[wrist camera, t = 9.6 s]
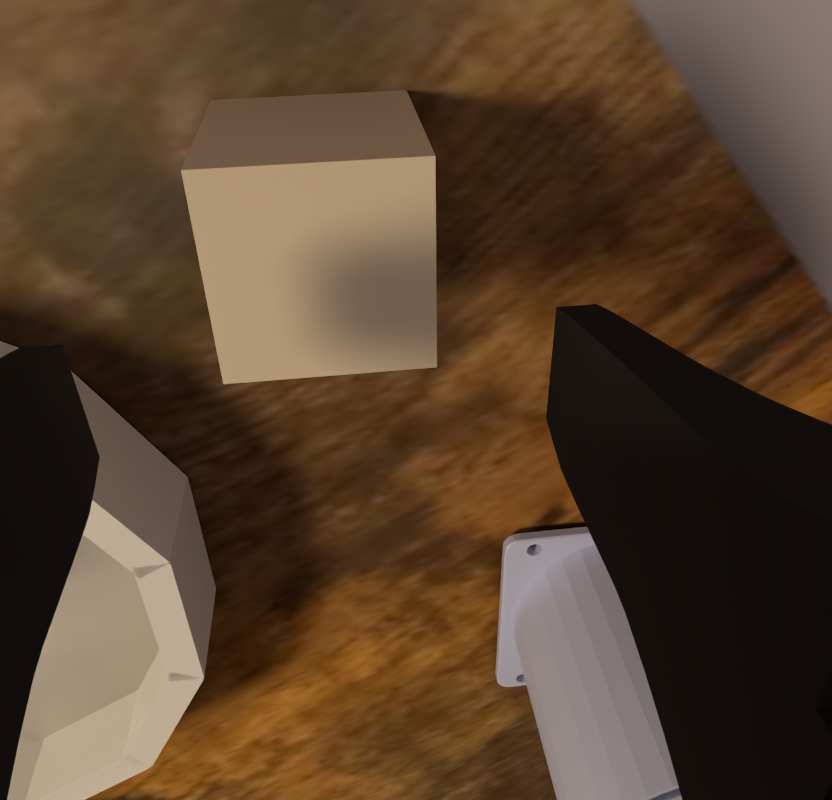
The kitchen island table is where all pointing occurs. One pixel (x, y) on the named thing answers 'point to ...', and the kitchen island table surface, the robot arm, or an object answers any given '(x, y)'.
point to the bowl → (119, 624)
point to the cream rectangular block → (316, 234)
